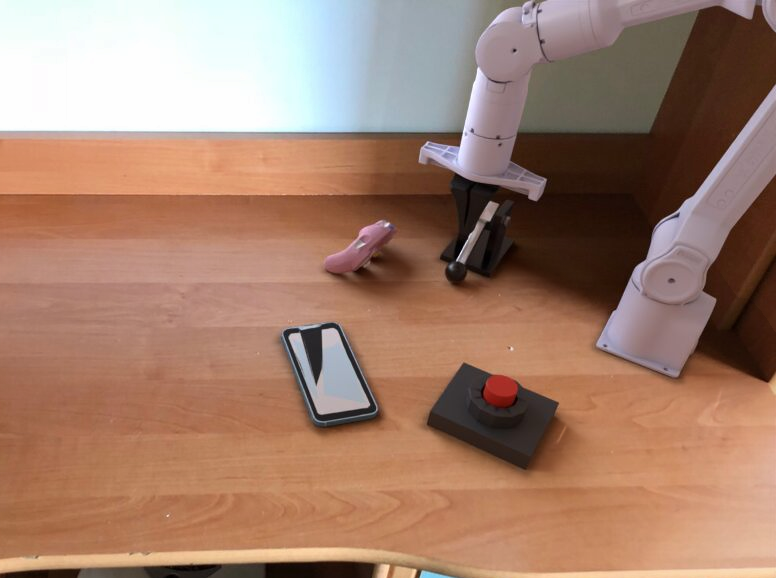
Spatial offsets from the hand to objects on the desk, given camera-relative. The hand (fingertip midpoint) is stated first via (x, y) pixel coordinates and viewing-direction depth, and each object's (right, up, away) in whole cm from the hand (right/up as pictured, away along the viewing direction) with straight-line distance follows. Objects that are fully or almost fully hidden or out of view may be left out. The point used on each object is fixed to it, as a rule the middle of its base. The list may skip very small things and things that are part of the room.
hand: (466, 231), depth 97 cm
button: (0, -20, -14) cm, 24 cm away
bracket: (+4, -1, +11) cm, 11 cm away
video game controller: (-12, -3, +8) cm, 15 cm away
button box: (0, -22, -11) cm, 25 cm away
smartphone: (-17, -18, -7) cm, 26 cm away
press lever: (+2, -1, +7) cm, 7 cm away
